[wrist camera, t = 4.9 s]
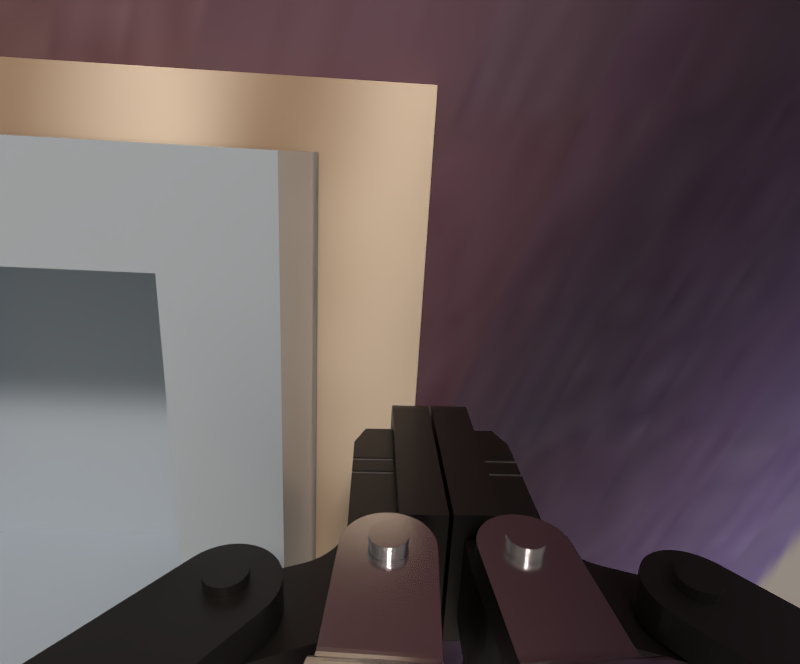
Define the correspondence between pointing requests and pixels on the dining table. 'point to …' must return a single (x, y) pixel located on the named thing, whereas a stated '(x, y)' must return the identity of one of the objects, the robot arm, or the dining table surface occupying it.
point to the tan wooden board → (337, 209)
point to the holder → (149, 368)
